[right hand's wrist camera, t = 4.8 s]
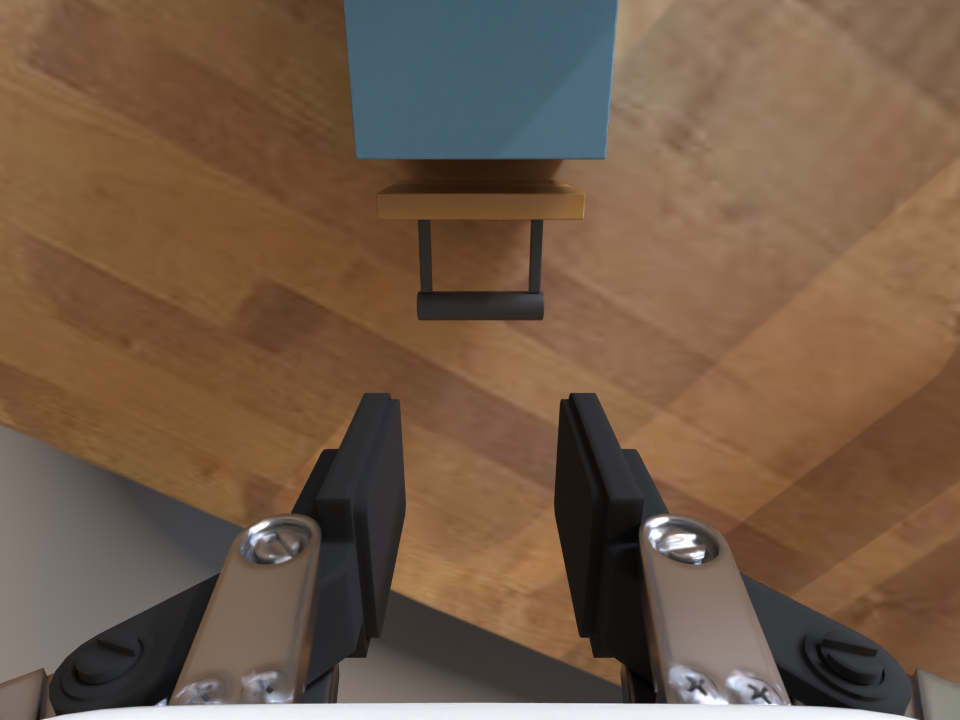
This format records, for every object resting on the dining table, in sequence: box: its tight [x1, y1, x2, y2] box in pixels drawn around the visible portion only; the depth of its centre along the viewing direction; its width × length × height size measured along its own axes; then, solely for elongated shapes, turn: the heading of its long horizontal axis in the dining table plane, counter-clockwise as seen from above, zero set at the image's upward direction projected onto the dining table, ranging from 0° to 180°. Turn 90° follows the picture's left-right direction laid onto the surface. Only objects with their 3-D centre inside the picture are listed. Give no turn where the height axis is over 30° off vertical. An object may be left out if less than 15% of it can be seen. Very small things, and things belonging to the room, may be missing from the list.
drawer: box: [376, 180, 585, 320], centre depth 28 cm, size 23×10×9 cm, turn 0°
